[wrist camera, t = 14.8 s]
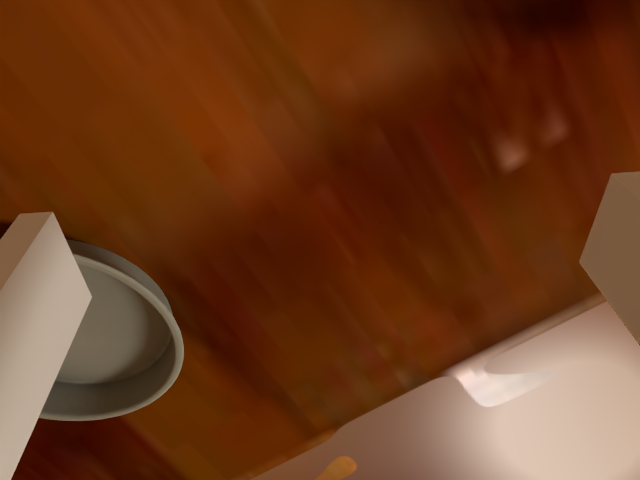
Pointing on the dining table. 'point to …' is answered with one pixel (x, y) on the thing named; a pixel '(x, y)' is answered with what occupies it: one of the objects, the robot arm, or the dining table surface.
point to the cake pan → (116, 343)
